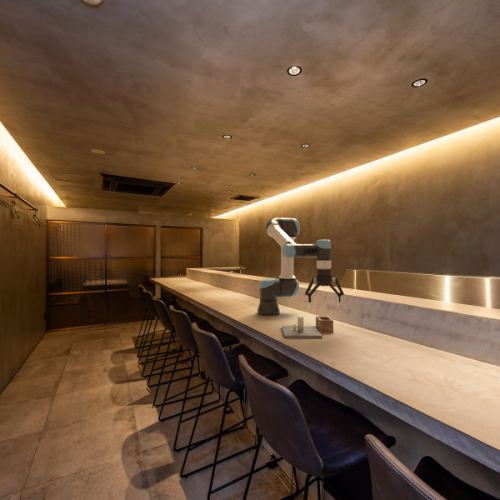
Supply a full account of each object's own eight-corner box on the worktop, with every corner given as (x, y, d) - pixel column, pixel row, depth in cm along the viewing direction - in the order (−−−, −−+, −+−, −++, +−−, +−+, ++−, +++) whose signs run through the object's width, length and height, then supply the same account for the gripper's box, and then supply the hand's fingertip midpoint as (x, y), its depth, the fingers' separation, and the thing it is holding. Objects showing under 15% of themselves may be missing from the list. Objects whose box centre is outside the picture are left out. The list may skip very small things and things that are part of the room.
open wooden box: (315, 326, 159) (315, 315, 159) (328, 326, 159) (328, 315, 159) (319, 332, 149) (319, 320, 149) (333, 332, 149) (333, 320, 149)
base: (281, 328, 157) (281, 313, 157) (315, 328, 156) (314, 313, 157) (284, 337, 139) (284, 321, 139) (322, 338, 138) (322, 321, 139)
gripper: (301, 269, 151) (301, 309, 151) (349, 268, 150) (350, 309, 150) (299, 268, 159) (299, 307, 158) (345, 268, 158) (346, 307, 157)
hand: (324, 308), depth 154 cm, fingers open, 13 cm apart
